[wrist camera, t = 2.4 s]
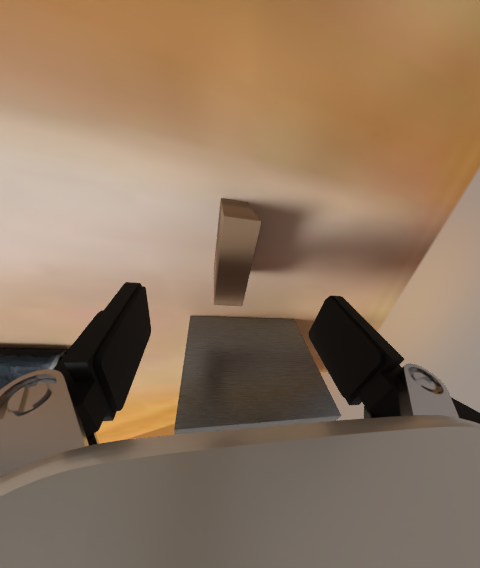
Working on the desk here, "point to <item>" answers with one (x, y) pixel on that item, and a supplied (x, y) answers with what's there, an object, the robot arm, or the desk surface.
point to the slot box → (249, 376)
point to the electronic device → (25, 362)
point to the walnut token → (234, 251)
